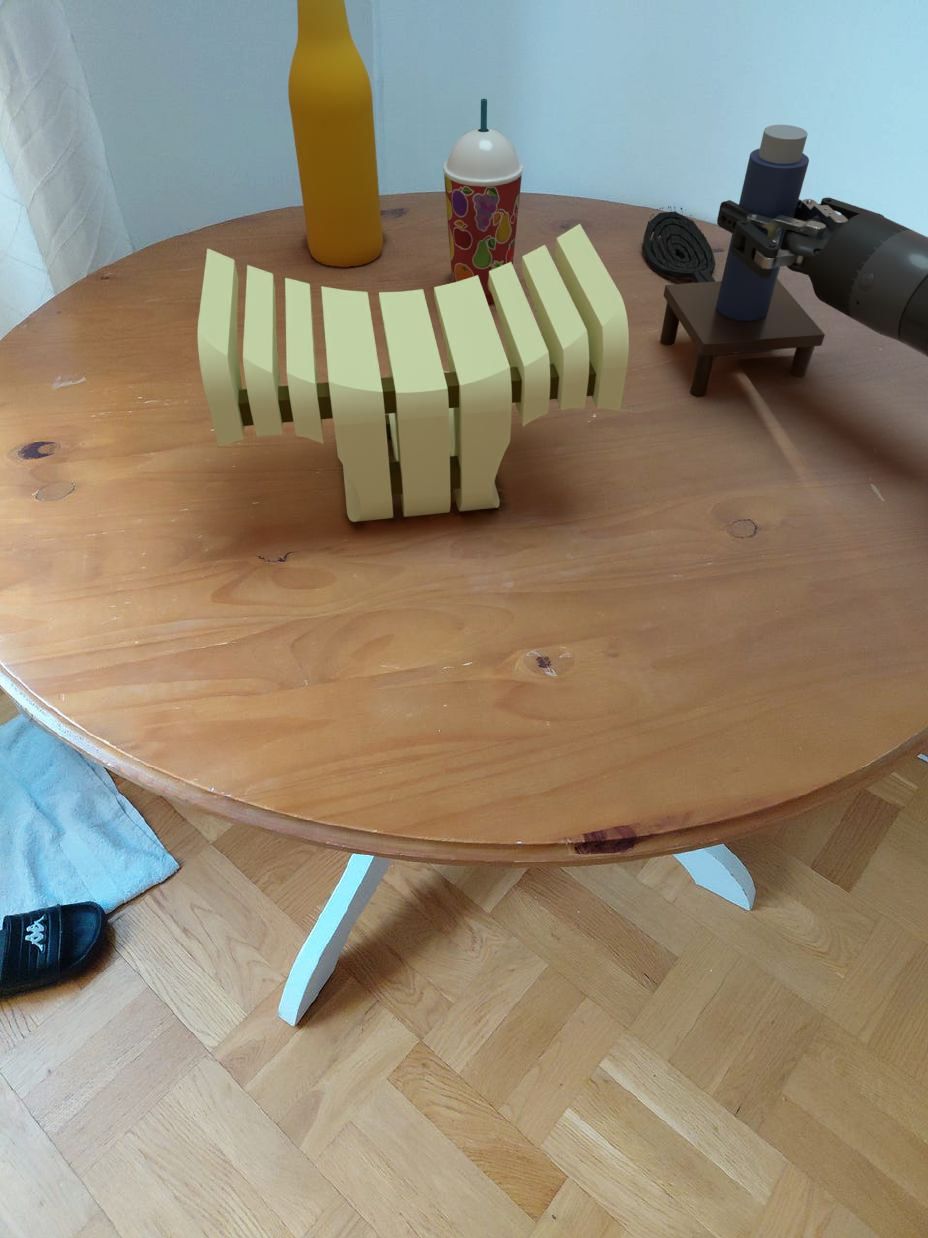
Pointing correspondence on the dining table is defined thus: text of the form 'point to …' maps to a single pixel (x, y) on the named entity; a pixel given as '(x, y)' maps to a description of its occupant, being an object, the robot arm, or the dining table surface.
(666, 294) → the side table
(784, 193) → the thermos flask
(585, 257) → the slatted curved stool
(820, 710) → the dining table surface
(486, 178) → the smoothie
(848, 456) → the dining table surface
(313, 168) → the beer bottle
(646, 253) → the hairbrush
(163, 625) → the dining table surface
